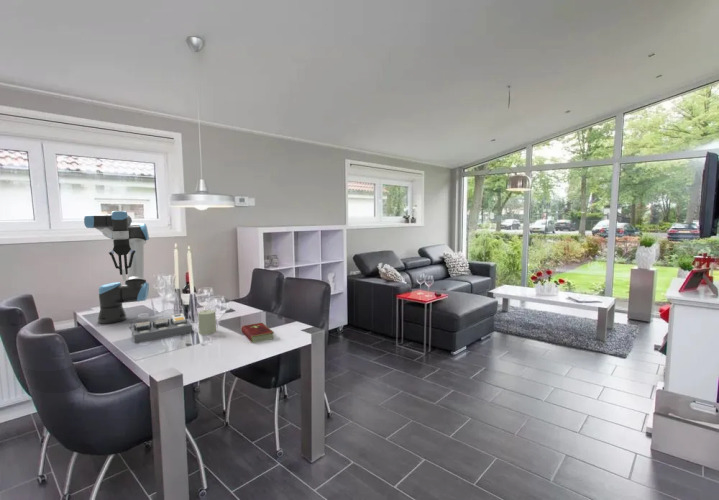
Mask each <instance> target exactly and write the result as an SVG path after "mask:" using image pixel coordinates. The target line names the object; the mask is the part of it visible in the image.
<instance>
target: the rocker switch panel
mask: <svg viewBox="0 0 719 500" xmlns="http://www.w3.org/2000/svg"><path fill="white" fill-rule="evenodd" d="M184 317H185V319H186V322H181V323H175V324H174V322H173V320H172V318H171V317H170V318H167V319H168V322H162V323H154V321H155V320H153V321H152V322H151V321H149V322H150V325H144V326H138V327H136V323H134V324H133V327H131V328H130V330H131V336H132V339H133V341H134V343H135V344H136V343H141V342H147V341H151V340H156V339H157V340H158V339H163V338H168V337H174V336H179V335H185V334H189V333H193V324H192V323H191V322H190V321H189V320H188V319H187V316H186V315H184Z"/></svg>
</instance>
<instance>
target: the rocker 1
mask: <svg viewBox="0 0 719 500" xmlns="http://www.w3.org/2000/svg"><path fill="white" fill-rule="evenodd" d="M150 322H151V321H143V322H138V323H135V325H136V327H139V326H145V325H150Z"/></svg>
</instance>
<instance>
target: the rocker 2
mask: <svg viewBox="0 0 719 500" xmlns="http://www.w3.org/2000/svg"><path fill="white" fill-rule="evenodd" d="M184 316H185V315H184V313H176V314H171V317H170V319H171V318H172V321H173V322H174V324H175V323H181V322H186V319H187V318H186V319H185V317H184Z"/></svg>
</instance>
